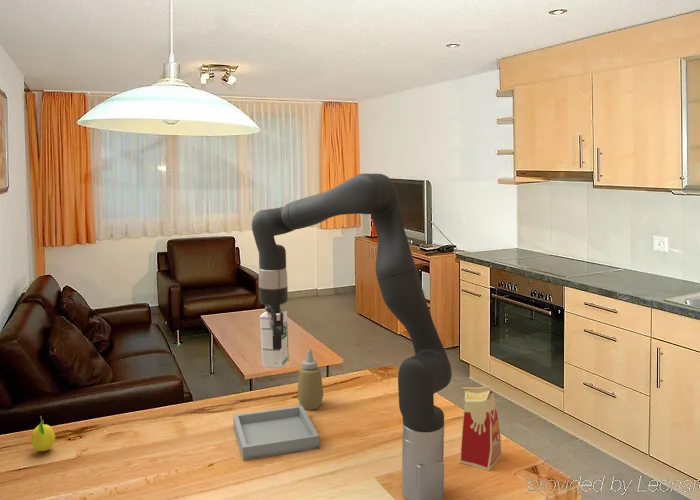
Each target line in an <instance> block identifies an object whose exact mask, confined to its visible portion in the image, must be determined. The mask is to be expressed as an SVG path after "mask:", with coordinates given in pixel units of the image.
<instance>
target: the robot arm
mask: <svg viewBox="0 0 700 500" xmlns="http://www.w3.org/2000/svg"><path fill="white" fill-rule="evenodd" d="M401 212H402V210H401V207H400V201H399V196H398V193H397V189H396V186H395V183H394V182H393V181H392V180H391V178H390V177H389V176H387V175H386V174H383V173H368V172H367V173H359V174H356V175H355V176H353V177H351V178H349V179H347V180H345V181H344V182H342V183H340V184H339V185H337V186H335V187H332V188H330V189H328V190H326V191H324V192H321V193H317V194H314V195H310V196H307V197H303V198H300V199H297V200H293V201H291V202H289V203H287V204H285V205H284V206H279V207H277V208H276V207H275V208H267V209H260V210H258V211H256V213H255V214H253V217H252V221H251V230H252V234H253V239H254V241H255V245H256V249H257V251H258V266H259V269H258V302H259V304H262V305H264V309H265V312H267V314H268V317H269V327H270V328H271V329H272V336H273V349H274V350H278V349H281V348H282V342H281V335H283V334H284V332H283V312H282V310H283V309H281V305H284V304H286V303H287V302H288V301H289V296H288V295H289V294H288V290H289V289H288V272H287V251H286V248H285V247H284V246H283V245H282V244H277V243H276V239H275V236H276V237H277V236H281V235H284V234H288V233H291V232H293V231H296V230H300V229H305V228H308V227H312V226H315V225H318V224H320V223H323V222H324V221H326V220H328V219H330V218H333V217H336V216H342V215H358V214H361V215H370V217H371V219H372V222H373V226H374V229H375V233H376V237H377V248H376V259H375V275H376V280H377V283H378V287H379V289H380V294H381V296H382V300H383V302H384V304H385V306H386V307H387V308H388V310H389V311H390V312H391V313H392V314H393V316H395V318H396V319H397V320H398V322H400V323H401V325H403V327H404V328H405V330H406V332H407V333H408V335H409V338H410V340H411V344H412V347H413V350H414V355H413V356H410V357H408V358H406V359H405V360H403V361H402V362H401V364H400V365H399V368H398V374H397V389H398V406H399V411H400V414H401V416H402V458H401V459H402V470H401V471H402V472H401V473H402V474H401V475H402V480H401V482H402V485H401V487H402V491H401V493H402V496H403V498H404V499H406V500H444V488H445V486H444V485H445V484H444V483H445V463H444V457H445V456H444V454H445V452H444V451H445V449H444V443H445V441H444V440H445V438H444V437H445V413H444V411H443V410H442V408H440V407H439V406H437V405H434V403H435V402H434V400H435V399H434V397H435V396H434V395H435V394H436V393H438V392H440V391H442V390H444V389H446V387H447V386H448V385H450V382H451V381H452V372H453V371H452V367H451V362H450V360H449V357H448V355H447V352H446V350H445V347H444V345H443V343H442V341H441V338H440V336H439V334H438V331H437V328H436V326H435V324H434V321H433V317H432V314H431V311H430V307H429V305H428V302H427V299H426V296H425V292H424V289H423V285H422V282H421V278H420V275H419V271H418V268H417V266H416V263H415V260H414V258H413V253H412V251H411V247H410V244H409V240H408V237H407V233H406V231H405V225H404V223H403V219H402V213H401ZM270 315H271V317H270ZM271 318H272V320H273V323H272V322H271ZM276 327H279V331H276Z"/></svg>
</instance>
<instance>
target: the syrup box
mask: <svg viewBox="0 0 700 500" xmlns="http://www.w3.org/2000/svg"><path fill="white" fill-rule="evenodd" d="M281 310H282V312H283V332H284V334H283V335H281V342H282V348H281V349H278V350H274V349H273V336H272V329H271V328H270V327H269V317H268V314H267V312H263V313H261V314H260V315H259V322H260V323H259V325H260V347H261V367H264V368H271V369H272V368H273V369H283V367H284V366H286V364H287V363H288V362H289V361H290V357H289V336H288V333H289V332H288V329H289V328H288V313H287V311H288V310H285V309H281ZM270 317H271V315H270ZM271 322H272V323H273V320H272V318H271ZM276 331H279V327H276Z"/></svg>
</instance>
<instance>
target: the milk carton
mask: <svg viewBox="0 0 700 500" xmlns="http://www.w3.org/2000/svg"><path fill="white" fill-rule="evenodd" d="M461 389H463V390H464V408H463V417H462V429H461V441H460V442H461V444H460V459H459V461H460V462H459V463H460V464H464V465H468V466H473V467H475V468H479V469H481V470H484V471H487V472H489V471H490V470H491V469H492V468H493V467H494V466H495V464H496V463H497V462H498V461H499V460H500V458H501V457H502V455H503V453H502V436H501V435H502V434H501V428H500V422H499V414H498V409H497V403H496V399H495V396H494V392H493V391H491V390H492V385H488V386H480V387H468V386H467V387H465V386H463V387H461Z"/></svg>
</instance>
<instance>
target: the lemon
mask: <svg viewBox="0 0 700 500" xmlns="http://www.w3.org/2000/svg"><path fill="white" fill-rule="evenodd" d="M39 417H40V423H39V424H38V425H37V426H36V427H35V428H34V430H33V432H32V433H31V438H30V439H31V440H30V441H31V444H32V445H31V446H32V447H33V449H34V450H36V452H37V451H39V452H43V451H46V450H49V449H51V448H52V447H53V445H54V444H55V441H56V433H55V430H54V429H53V428H52V427H51V425H49V424H44V423H45V422H44V420H43V419H42V416H41V415H40V416H39ZM46 452H47V451H46Z"/></svg>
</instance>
